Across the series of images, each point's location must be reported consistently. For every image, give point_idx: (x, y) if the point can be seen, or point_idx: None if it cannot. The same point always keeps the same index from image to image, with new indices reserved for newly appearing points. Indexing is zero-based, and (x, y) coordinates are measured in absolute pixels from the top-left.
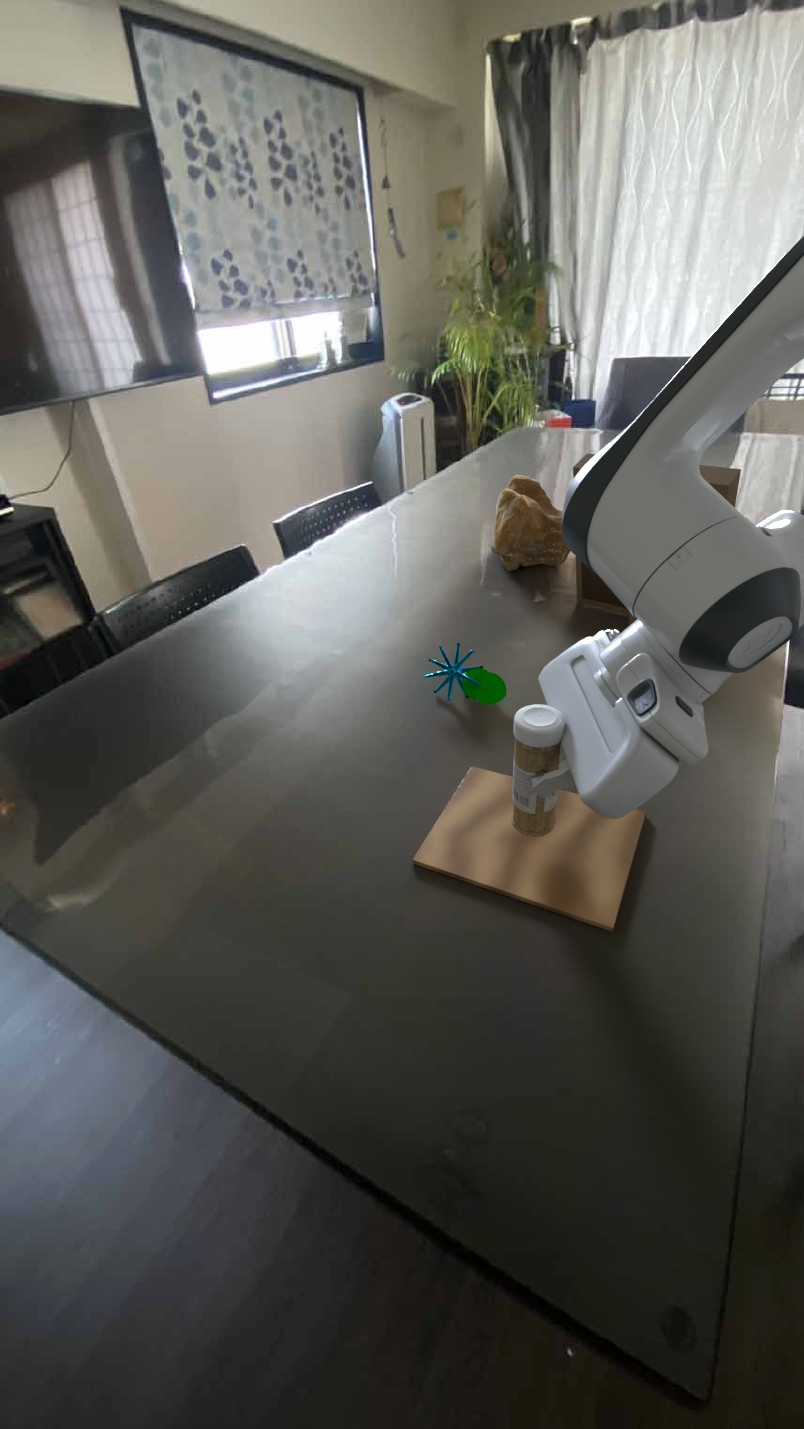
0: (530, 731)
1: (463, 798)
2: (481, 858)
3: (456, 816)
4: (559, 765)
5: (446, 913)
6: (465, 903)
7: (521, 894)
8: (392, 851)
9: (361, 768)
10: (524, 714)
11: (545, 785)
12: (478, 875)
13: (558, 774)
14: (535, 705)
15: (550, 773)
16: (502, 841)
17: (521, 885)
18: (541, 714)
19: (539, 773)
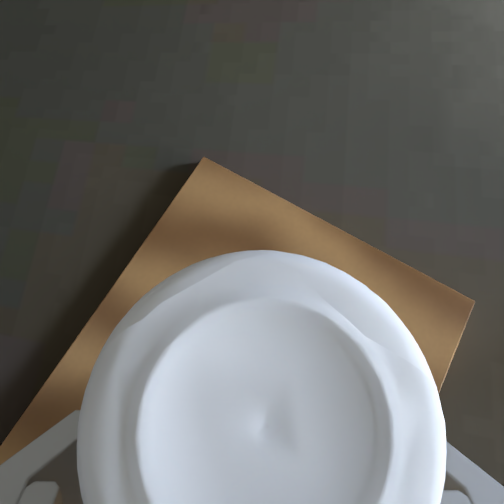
0: (121, 324)
1: (365, 268)
2: None
3: (310, 246)
4: (47, 487)
5: (82, 206)
6: (96, 240)
7: (78, 342)
8: (239, 132)
9: (466, 91)
10: (306, 317)
11: None
12: (144, 267)
13: (3, 466)
14: (421, 428)
15: (71, 435)
16: None
17: (101, 347)
18: (298, 450)
19: None
